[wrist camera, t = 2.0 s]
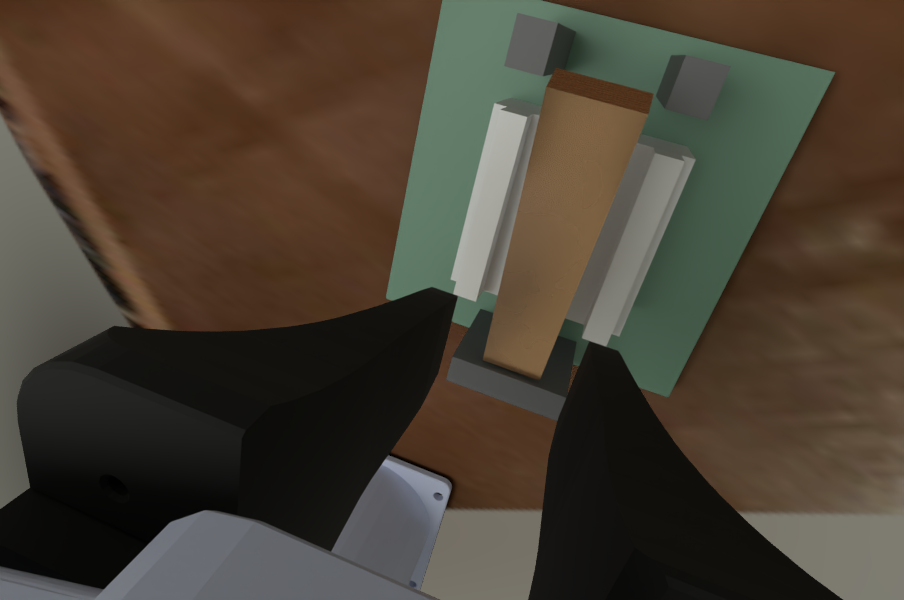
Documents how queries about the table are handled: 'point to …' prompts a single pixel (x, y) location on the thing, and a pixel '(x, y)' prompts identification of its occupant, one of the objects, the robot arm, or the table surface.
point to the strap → (561, 211)
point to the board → (700, 207)
